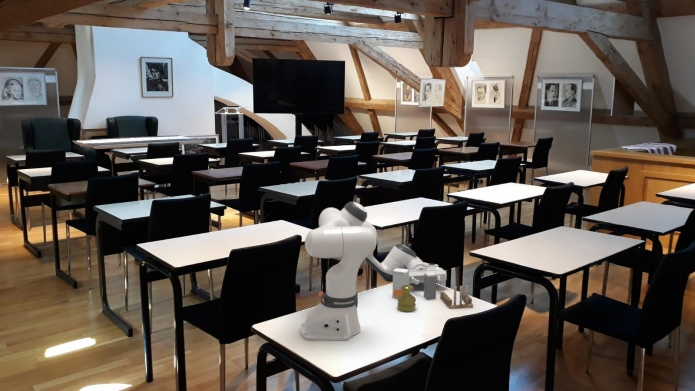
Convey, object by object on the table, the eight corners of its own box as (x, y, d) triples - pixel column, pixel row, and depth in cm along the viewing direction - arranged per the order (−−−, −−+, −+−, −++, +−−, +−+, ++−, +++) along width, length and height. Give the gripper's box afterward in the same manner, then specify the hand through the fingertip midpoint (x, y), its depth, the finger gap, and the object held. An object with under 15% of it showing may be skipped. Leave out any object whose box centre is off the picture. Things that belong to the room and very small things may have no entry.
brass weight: (414, 312, 226) (415, 289, 224) (396, 311, 227) (396, 287, 225) (416, 306, 233) (417, 282, 231) (398, 304, 234) (398, 281, 232)
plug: (426, 299, 240) (427, 275, 238) (423, 296, 243) (424, 272, 241) (435, 298, 240) (436, 275, 238) (432, 295, 244) (433, 271, 242)
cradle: (449, 309, 229) (450, 287, 228) (440, 298, 241) (440, 278, 239) (473, 307, 231) (474, 286, 229) (462, 297, 242) (463, 276, 240)
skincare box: (392, 297, 242) (392, 270, 240) (395, 294, 246) (395, 267, 244) (405, 299, 240) (406, 272, 237) (408, 296, 243) (409, 269, 241)
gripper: (396, 266, 255) (404, 276, 241) (440, 264, 258) (450, 273, 245) (396, 279, 256) (404, 290, 243) (440, 277, 259) (450, 287, 246)
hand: (428, 282), depth 244 cm, fingers open, 8 cm apart
